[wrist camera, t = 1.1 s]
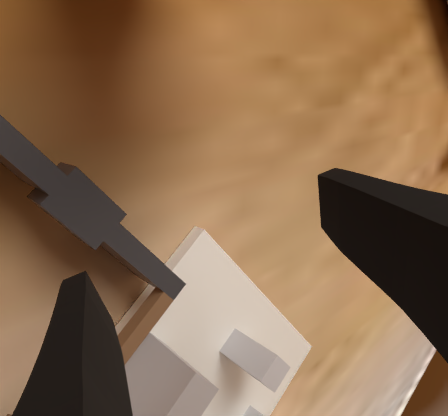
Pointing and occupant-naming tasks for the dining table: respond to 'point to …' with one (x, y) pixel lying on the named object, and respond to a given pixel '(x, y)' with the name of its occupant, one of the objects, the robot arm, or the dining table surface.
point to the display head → (212, 342)
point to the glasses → (91, 226)
